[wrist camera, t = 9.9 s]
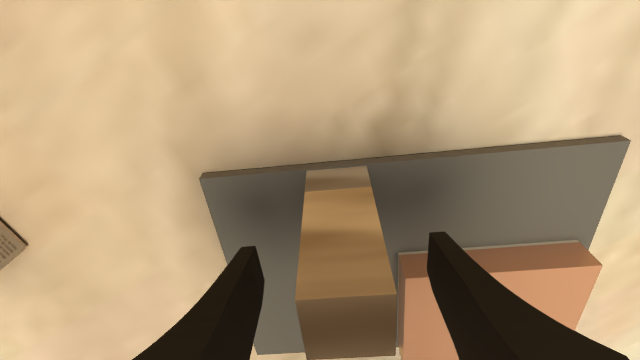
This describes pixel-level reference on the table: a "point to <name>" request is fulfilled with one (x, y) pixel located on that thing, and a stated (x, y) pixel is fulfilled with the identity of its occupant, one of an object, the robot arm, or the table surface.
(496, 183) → the mat
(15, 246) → the coffee box
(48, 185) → the table surface
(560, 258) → the tile
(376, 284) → the wooden block
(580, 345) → the robot arm
